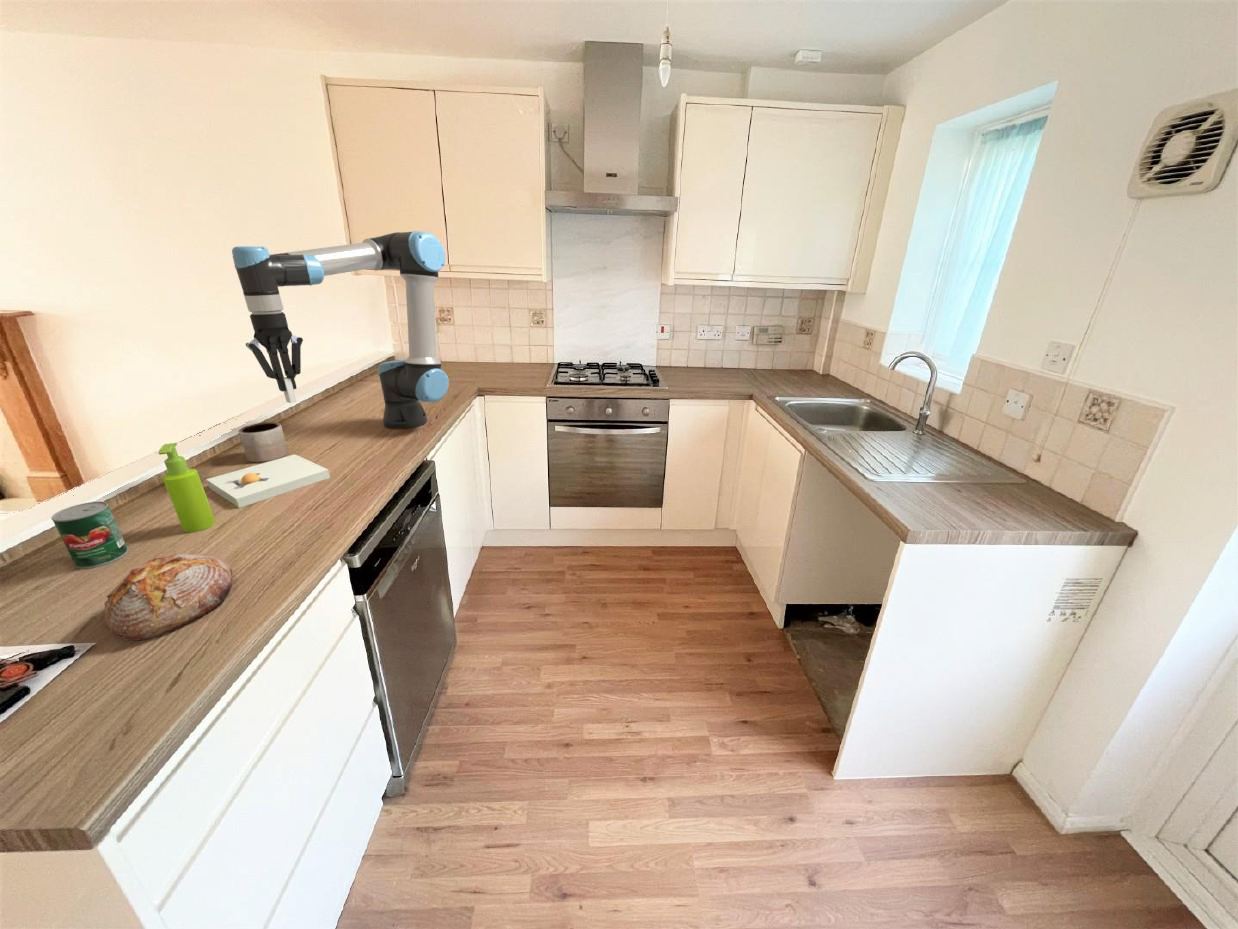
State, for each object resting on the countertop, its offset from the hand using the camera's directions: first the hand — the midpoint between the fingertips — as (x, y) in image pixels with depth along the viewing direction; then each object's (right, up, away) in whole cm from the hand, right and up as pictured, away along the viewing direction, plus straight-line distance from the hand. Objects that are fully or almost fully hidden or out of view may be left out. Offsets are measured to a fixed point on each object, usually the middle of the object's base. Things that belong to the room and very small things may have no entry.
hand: (291, 401), depth 135 cm
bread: (+11, -43, -47) cm, 64 cm away
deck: (-6, -22, 0) cm, 23 cm away
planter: (-19, -15, +18) cm, 30 cm away
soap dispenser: (-7, -32, -22) cm, 39 cm away
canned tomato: (-17, -37, -33) cm, 52 cm away
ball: (-8, -21, -4) cm, 23 cm away
